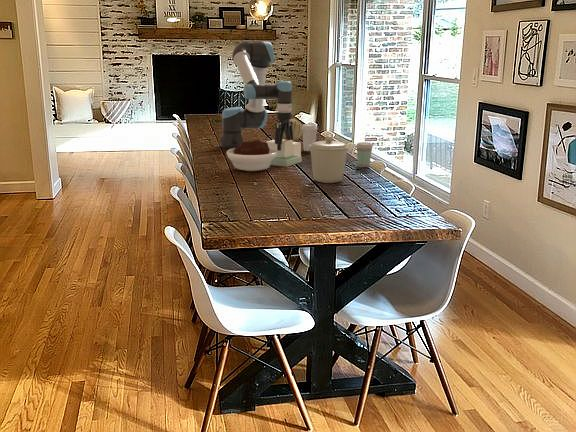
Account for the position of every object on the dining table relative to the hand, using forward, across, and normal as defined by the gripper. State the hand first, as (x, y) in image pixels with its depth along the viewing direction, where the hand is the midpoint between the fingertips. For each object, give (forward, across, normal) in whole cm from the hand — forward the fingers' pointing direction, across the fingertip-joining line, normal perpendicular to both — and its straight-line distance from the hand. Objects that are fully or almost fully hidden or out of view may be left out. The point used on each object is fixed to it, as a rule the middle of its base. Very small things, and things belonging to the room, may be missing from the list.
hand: (284, 155), depth 330 cm
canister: (+5, -27, -39) cm, 48 cm away
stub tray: (+4, 0, 0) cm, 4 cm away
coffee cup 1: (+4, +42, +8) cm, 43 cm away
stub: (0, 0, 0) cm, 0 cm away
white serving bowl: (+5, -24, +5) cm, 25 cm away
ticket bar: (+4, +17, +11) cm, 21 cm away
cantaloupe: (+4, +66, +34) cm, 74 cm away
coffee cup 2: (+5, +14, -39) cm, 42 cm away
